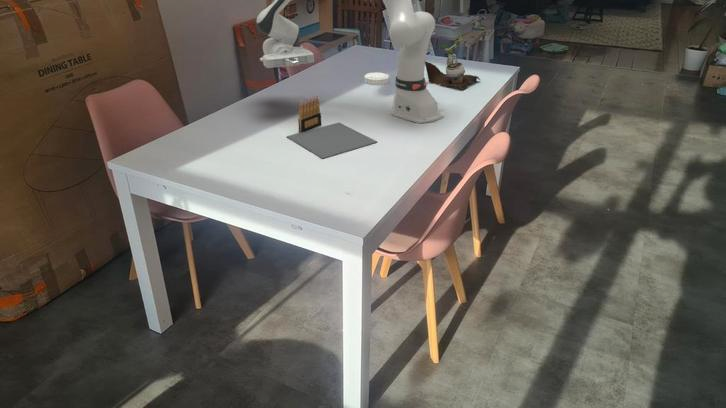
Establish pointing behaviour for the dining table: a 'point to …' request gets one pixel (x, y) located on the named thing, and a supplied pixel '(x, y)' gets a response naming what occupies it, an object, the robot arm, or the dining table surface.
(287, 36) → the robot arm
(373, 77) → the mooncake
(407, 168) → the dining table surface
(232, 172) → the dining table surface
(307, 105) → the ammunition clip
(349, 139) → the slate mat
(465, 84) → the potted plant
